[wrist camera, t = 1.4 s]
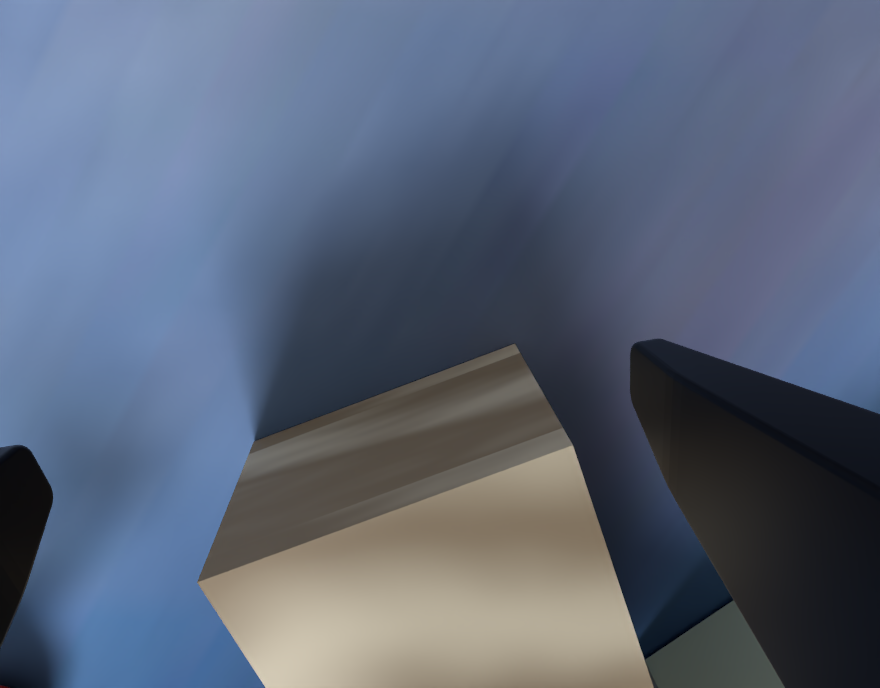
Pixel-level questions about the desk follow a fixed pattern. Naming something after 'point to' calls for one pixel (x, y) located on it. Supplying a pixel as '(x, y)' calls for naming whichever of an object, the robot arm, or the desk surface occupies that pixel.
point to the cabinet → (424, 546)
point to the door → (714, 656)
